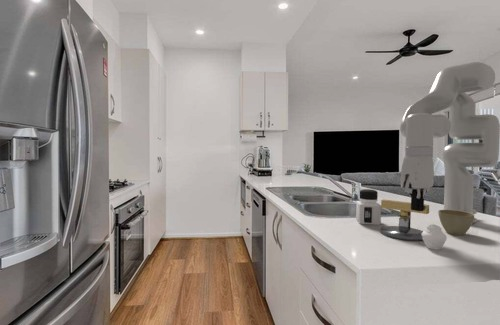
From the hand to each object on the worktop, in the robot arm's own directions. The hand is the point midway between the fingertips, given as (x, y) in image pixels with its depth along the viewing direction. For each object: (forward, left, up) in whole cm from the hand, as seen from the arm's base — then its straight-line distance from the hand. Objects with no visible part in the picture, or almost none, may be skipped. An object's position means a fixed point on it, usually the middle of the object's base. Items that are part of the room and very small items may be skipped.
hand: (417, 210), depth 89 cm
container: (-2, -22, -10) cm, 24 cm away
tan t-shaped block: (0, -5, -4) cm, 6 cm away
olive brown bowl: (-18, +1, -10) cm, 21 cm away
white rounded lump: (+3, +8, -10) cm, 13 cm away
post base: (0, -5, -9) cm, 11 cm away
